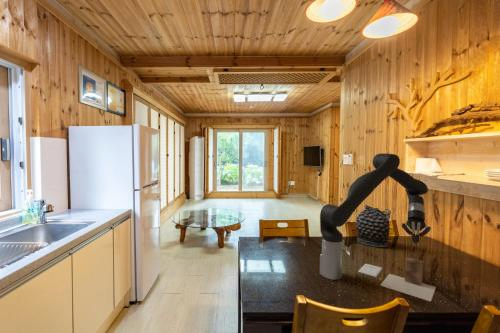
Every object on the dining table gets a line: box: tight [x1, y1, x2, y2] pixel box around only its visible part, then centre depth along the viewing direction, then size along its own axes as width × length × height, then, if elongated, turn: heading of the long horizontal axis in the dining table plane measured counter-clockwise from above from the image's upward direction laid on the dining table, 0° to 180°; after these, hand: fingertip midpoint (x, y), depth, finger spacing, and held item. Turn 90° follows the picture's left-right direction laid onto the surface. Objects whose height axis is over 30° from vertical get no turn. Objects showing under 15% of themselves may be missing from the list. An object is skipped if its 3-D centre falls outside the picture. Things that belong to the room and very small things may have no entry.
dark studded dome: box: [354, 204, 392, 248], centre depth 164 cm, size 21×15×25 cm
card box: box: [404, 257, 424, 286], centre depth 112 cm, size 6×4×10 cm, turn 48°
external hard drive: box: [357, 263, 383, 279], centre depth 124 cm, size 2×8×12 cm
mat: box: [379, 273, 437, 302], centre depth 109 cm, size 18×15×1 cm
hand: (415, 242), depth 125 cm, fingers closed
